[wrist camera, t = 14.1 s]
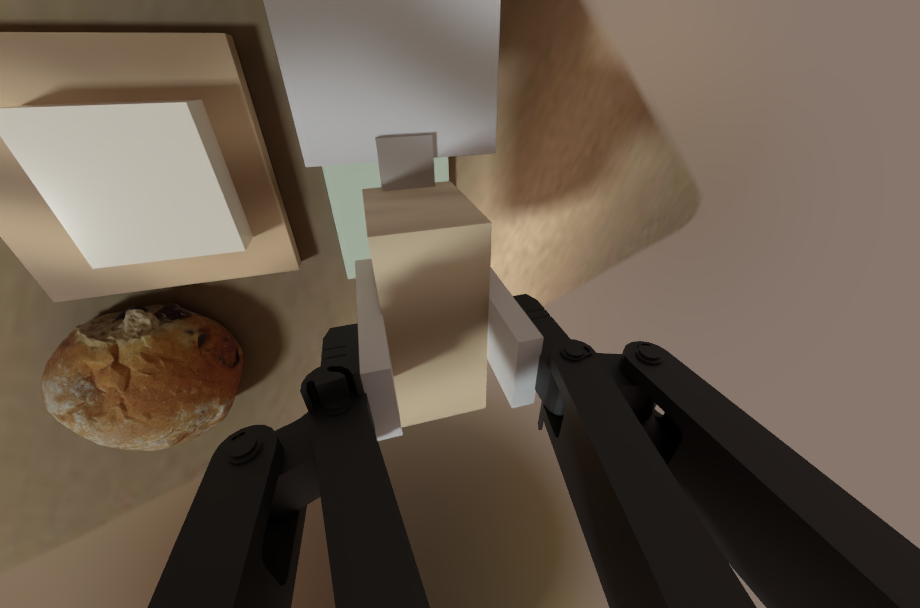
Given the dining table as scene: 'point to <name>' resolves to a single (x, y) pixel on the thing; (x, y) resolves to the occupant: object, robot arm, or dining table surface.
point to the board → (130, 80)
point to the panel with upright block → (407, 168)
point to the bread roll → (143, 377)
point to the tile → (130, 178)
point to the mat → (359, 204)
